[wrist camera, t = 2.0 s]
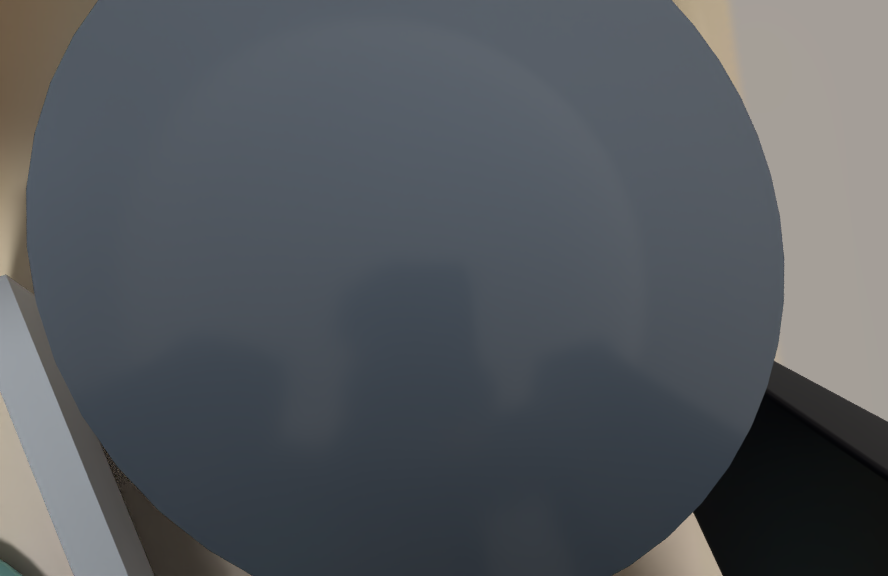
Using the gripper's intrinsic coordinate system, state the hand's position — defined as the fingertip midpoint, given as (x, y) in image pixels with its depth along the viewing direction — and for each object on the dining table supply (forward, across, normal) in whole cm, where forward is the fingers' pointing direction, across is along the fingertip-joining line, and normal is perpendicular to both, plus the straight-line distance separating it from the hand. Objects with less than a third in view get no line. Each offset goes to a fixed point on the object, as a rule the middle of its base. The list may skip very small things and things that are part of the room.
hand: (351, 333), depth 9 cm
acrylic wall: (+3, +4, +8) cm, 10 cm away
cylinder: (+6, 0, +6) cm, 8 cm away
